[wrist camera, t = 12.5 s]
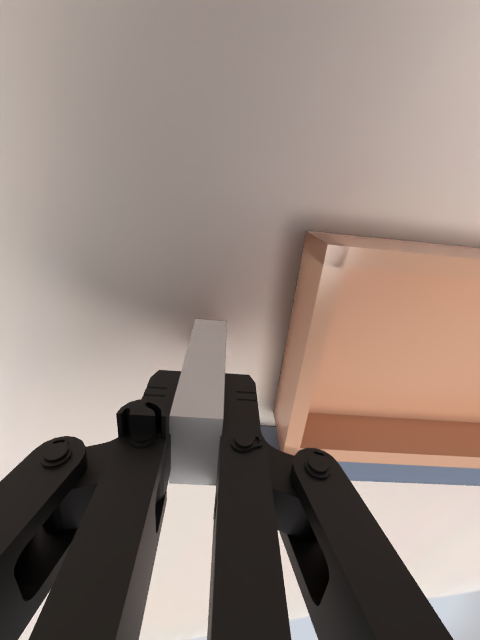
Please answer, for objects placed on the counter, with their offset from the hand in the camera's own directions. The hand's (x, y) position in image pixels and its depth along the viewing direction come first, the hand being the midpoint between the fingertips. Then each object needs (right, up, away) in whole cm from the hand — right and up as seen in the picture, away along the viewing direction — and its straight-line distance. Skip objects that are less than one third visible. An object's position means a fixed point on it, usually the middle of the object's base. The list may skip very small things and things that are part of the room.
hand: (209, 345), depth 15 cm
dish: (+12, 0, +2) cm, 12 cm away
